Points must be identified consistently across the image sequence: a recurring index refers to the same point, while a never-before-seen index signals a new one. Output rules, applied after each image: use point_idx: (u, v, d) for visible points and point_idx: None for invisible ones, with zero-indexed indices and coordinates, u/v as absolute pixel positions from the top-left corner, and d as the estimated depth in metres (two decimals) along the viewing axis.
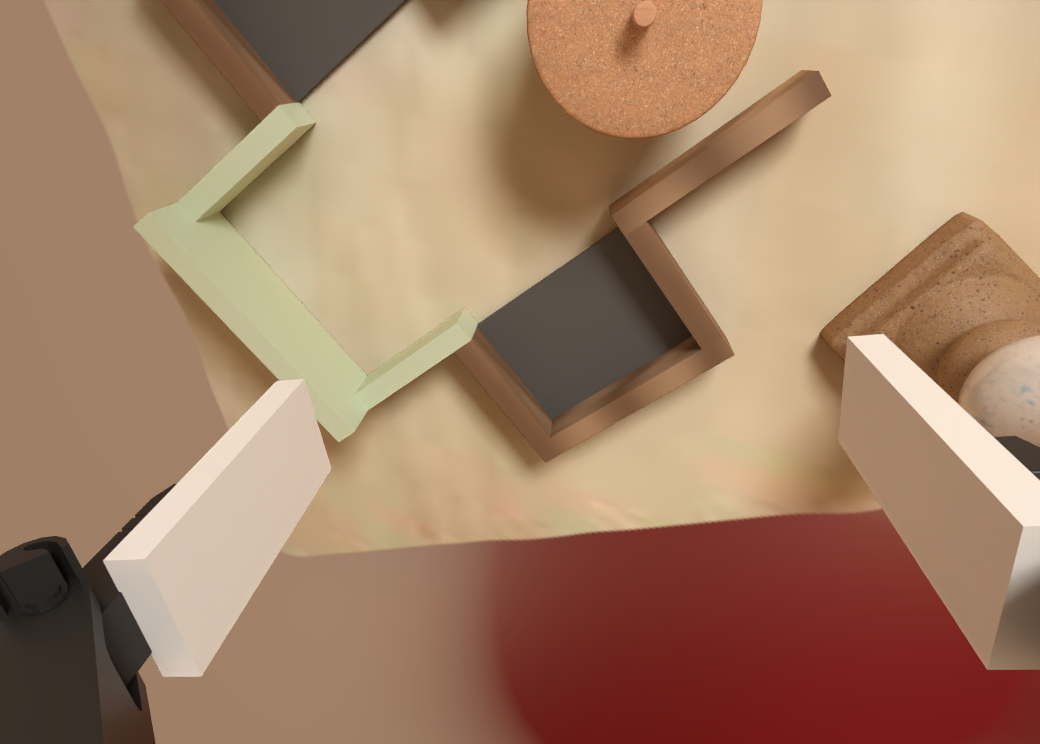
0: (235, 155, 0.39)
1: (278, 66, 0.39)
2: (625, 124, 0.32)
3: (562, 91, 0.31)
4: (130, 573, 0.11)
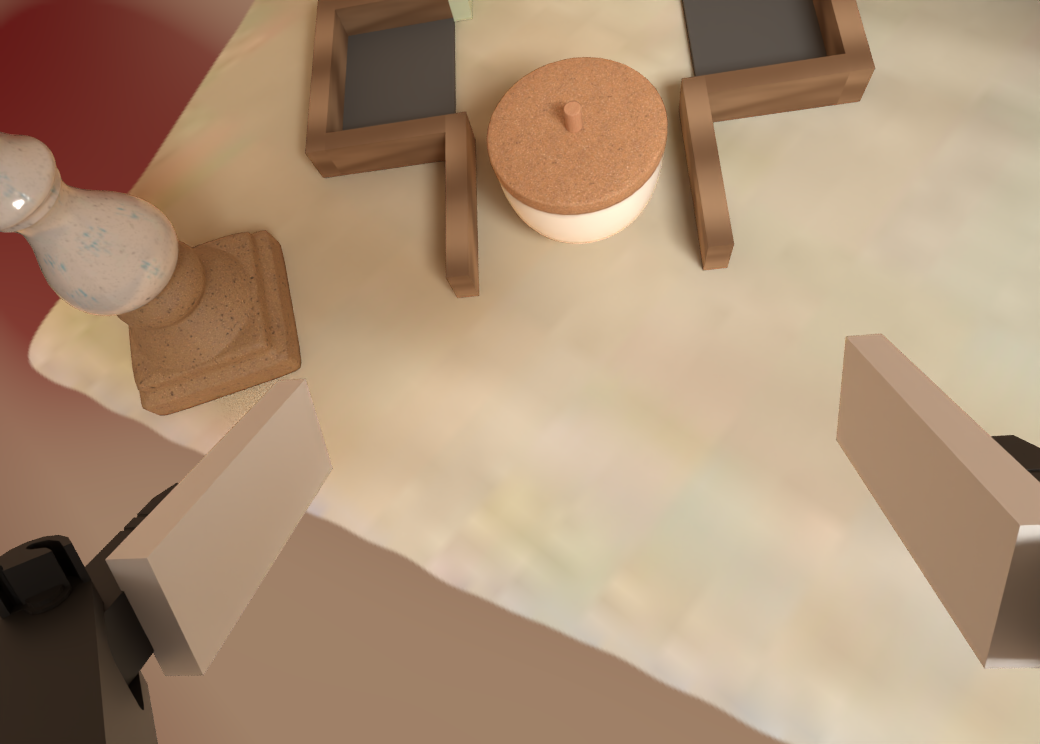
0: None
1: None
2: (514, 93, 0.40)
3: (562, 64, 0.40)
4: (132, 572, 0.11)
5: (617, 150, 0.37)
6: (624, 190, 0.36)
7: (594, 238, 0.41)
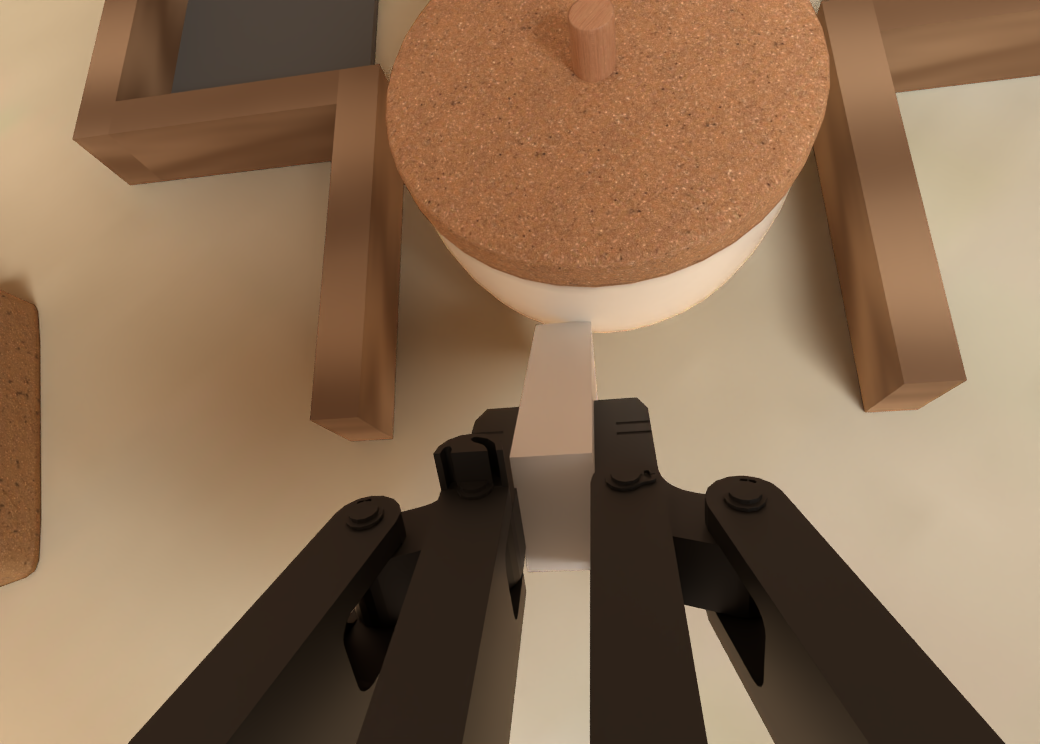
0: None
1: None
2: None
3: None
4: (531, 469, 0.12)
5: (702, 127, 0.14)
6: (720, 233, 0.14)
7: (629, 328, 0.18)
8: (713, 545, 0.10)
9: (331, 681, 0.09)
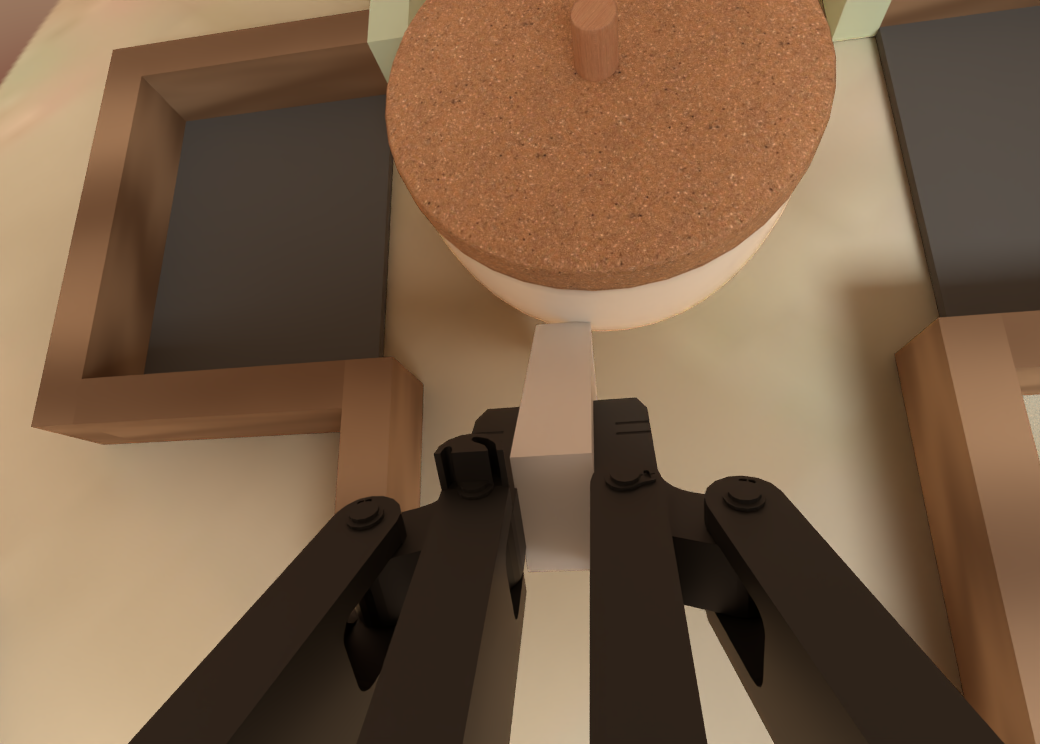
0: None
1: (947, 30, 0.22)
2: None
3: None
4: (531, 469, 0.12)
5: (705, 130, 0.14)
6: (720, 238, 0.14)
7: (629, 327, 0.18)
8: (712, 545, 0.10)
9: (331, 681, 0.09)
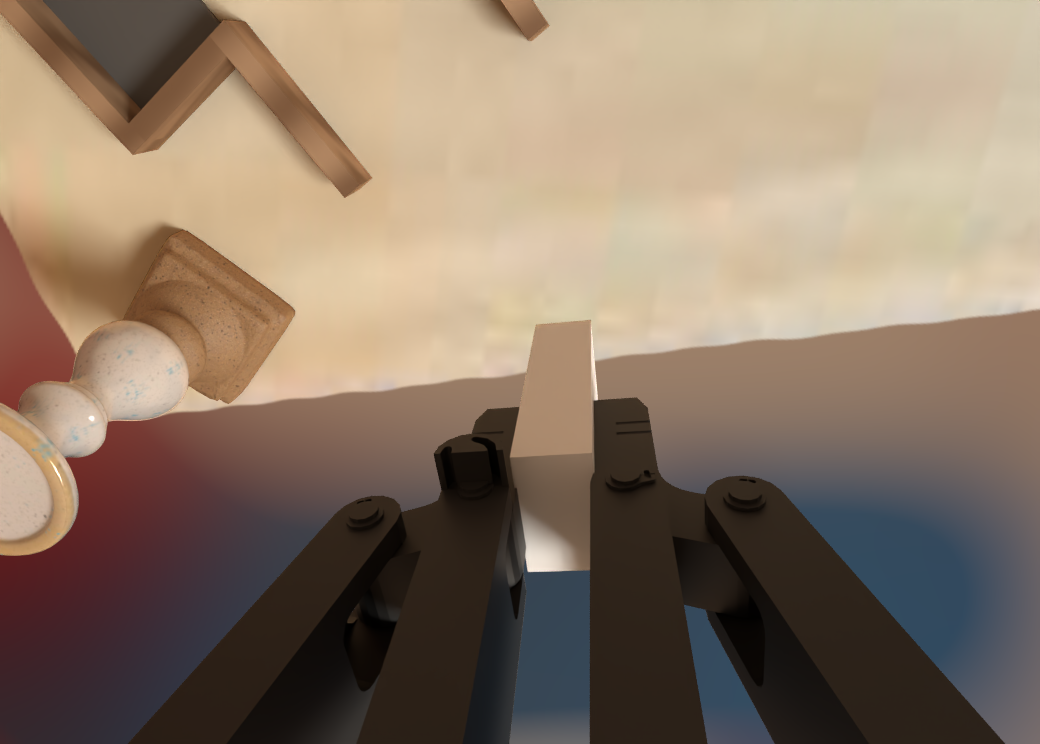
0: None
1: None
2: None
3: None
4: (531, 469, 0.12)
5: None
6: None
7: None
8: (713, 545, 0.10)
9: (331, 681, 0.09)
